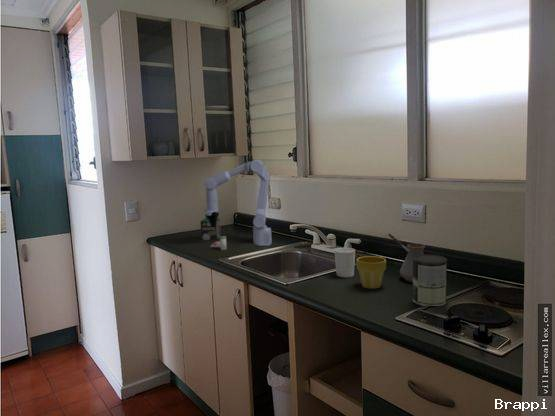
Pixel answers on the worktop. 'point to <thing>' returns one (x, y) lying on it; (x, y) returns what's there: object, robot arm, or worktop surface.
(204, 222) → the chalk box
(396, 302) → the worktop surface
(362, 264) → the plant pot
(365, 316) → the worktop surface
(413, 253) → the coffee pot
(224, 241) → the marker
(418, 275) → the coffee can
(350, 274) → the white cup
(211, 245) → the button housing
